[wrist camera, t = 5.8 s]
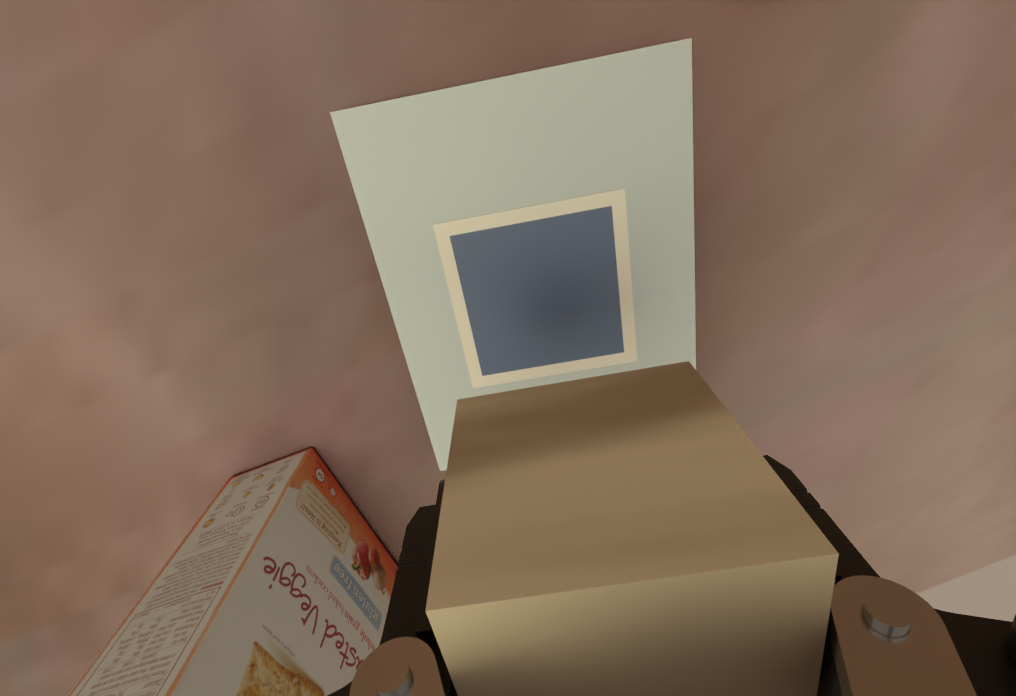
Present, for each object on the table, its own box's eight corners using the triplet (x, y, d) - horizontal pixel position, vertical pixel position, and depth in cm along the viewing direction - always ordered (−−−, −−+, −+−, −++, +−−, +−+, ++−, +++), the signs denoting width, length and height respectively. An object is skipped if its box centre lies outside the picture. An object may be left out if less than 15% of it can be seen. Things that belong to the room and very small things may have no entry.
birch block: (457, 399, 11) (425, 611, 6) (688, 361, 10) (839, 553, 6) (500, 560, 13) (500, 806, 8) (692, 532, 12) (805, 772, 8)
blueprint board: (339, 112, 20) (328, 112, 19) (680, 42, 19) (693, 37, 18) (442, 456, 28) (439, 473, 26) (688, 418, 27) (698, 433, 26)
